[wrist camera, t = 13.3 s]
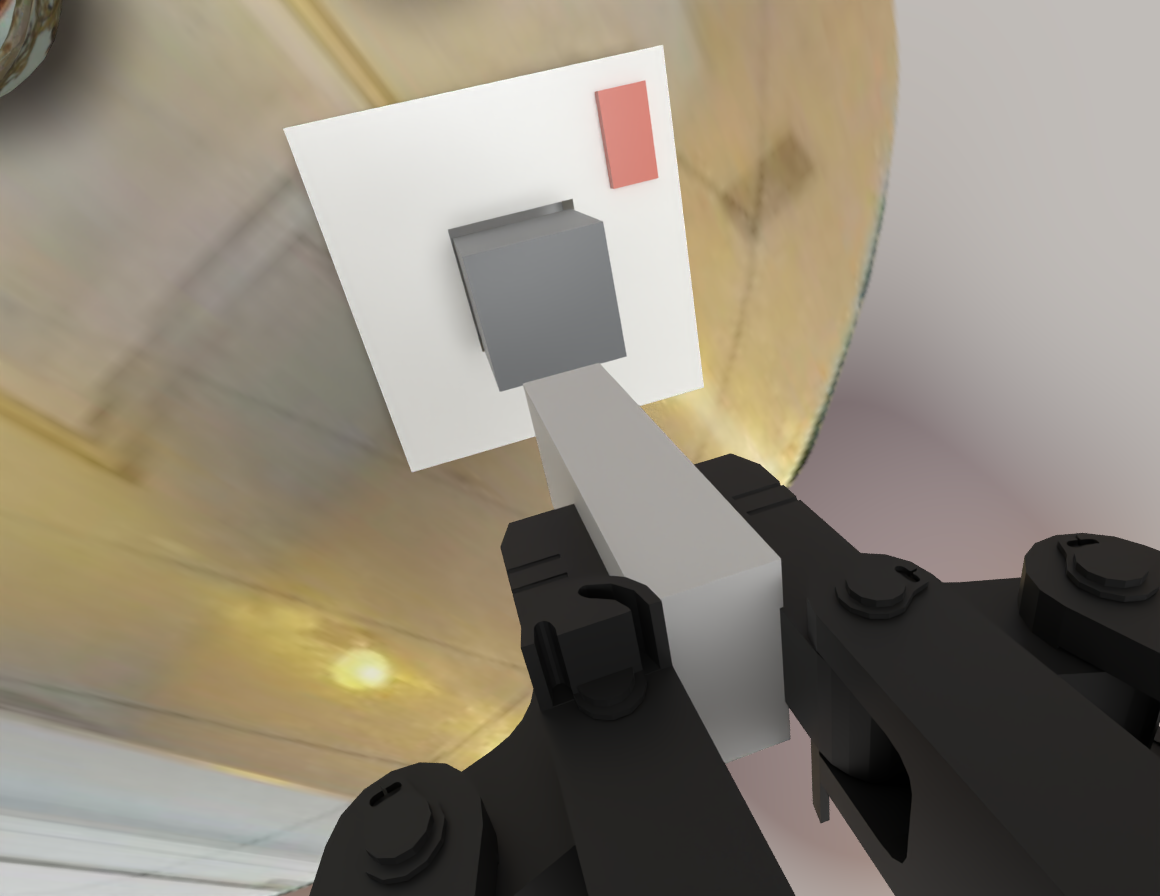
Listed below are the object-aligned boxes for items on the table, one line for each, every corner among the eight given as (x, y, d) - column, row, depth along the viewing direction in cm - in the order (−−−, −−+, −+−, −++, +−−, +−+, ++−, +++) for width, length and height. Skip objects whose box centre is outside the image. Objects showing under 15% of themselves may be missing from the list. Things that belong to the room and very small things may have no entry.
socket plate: (411, 447, 40) (411, 477, 36) (295, 129, 32) (280, 128, 28) (682, 369, 42) (707, 390, 39) (639, 53, 34) (667, 43, 30)
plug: (478, 333, 38) (499, 391, 29) (448, 228, 35) (461, 257, 26) (576, 307, 38) (626, 356, 29) (554, 202, 36) (602, 221, 27)
